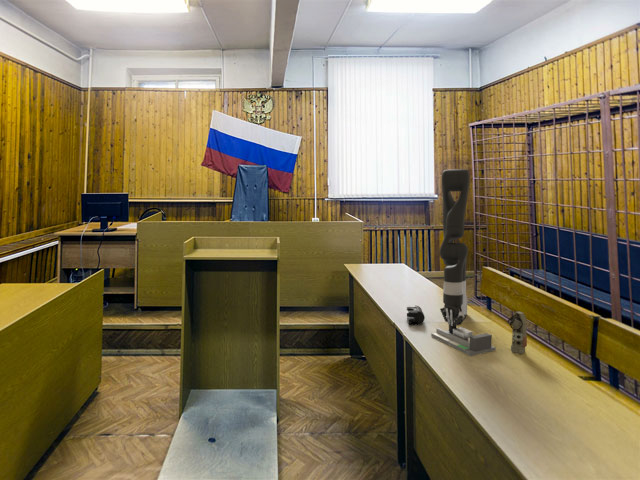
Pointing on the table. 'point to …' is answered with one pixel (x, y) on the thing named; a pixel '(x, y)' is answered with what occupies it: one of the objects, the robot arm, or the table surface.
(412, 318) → the end cap
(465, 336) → the grey textured block
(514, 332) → the grenade model
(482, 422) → the table surface
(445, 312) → the robot arm
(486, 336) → the gauge board
